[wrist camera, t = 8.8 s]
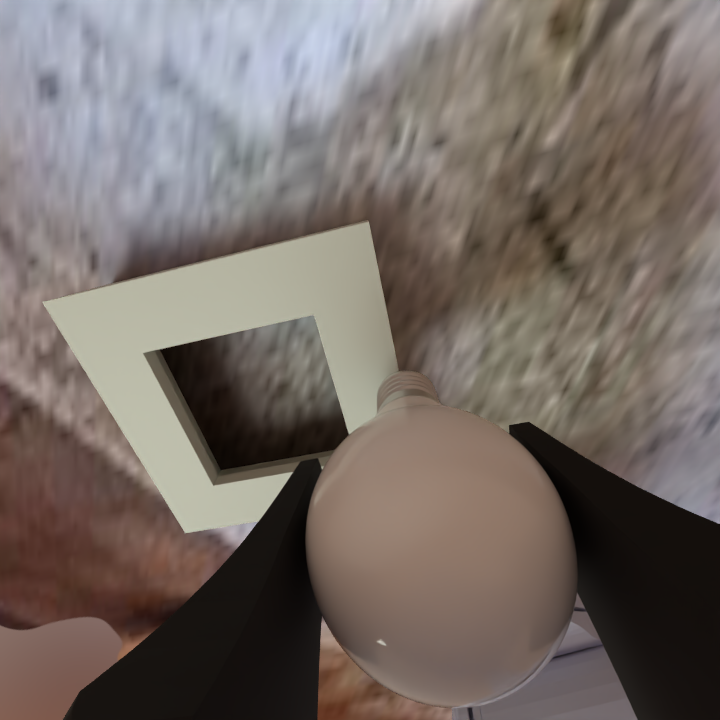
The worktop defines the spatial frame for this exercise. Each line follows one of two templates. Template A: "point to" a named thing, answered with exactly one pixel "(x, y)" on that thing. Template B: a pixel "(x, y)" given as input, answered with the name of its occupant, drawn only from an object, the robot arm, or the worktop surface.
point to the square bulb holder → (220, 317)
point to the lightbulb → (440, 551)
